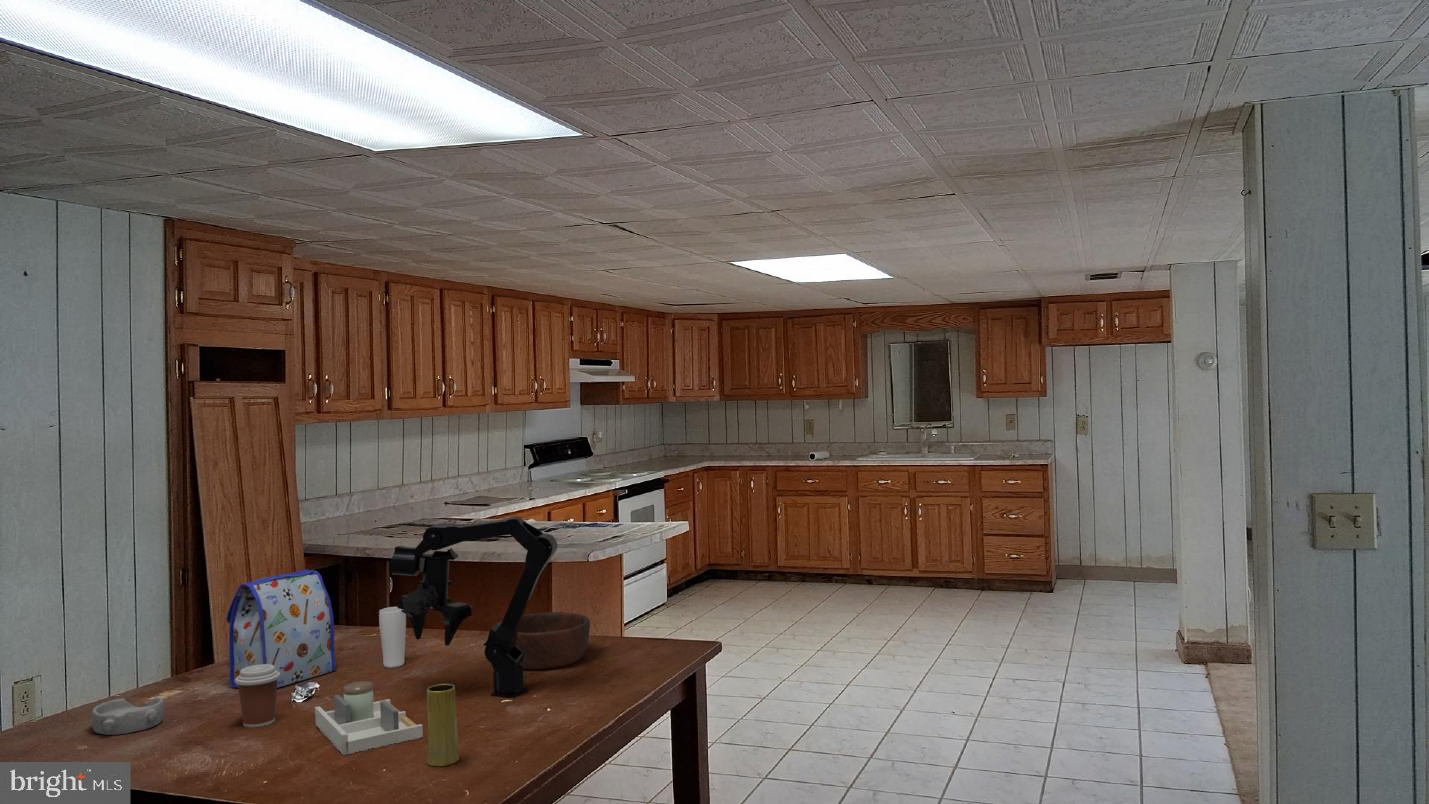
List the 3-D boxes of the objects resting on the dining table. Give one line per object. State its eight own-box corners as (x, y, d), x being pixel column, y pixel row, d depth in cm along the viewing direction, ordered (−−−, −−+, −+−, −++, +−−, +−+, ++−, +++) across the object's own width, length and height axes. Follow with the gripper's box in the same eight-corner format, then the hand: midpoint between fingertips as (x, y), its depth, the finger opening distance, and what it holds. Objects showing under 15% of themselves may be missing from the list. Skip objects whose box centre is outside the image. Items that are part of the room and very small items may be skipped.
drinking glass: (399, 669, 254) (397, 612, 254) (375, 668, 256) (373, 612, 256) (412, 662, 261) (410, 606, 261) (389, 661, 262) (387, 606, 262)
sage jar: (377, 717, 214) (376, 681, 214) (368, 726, 208) (367, 689, 208) (350, 718, 214) (349, 681, 214) (340, 727, 208) (339, 690, 208)
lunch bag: (297, 664, 263) (294, 565, 263) (341, 670, 255) (338, 569, 255) (221, 688, 242) (217, 581, 242) (266, 695, 235) (263, 585, 235)
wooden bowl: (545, 644, 277) (543, 608, 277) (610, 655, 262) (609, 617, 262) (476, 665, 257) (475, 626, 257) (543, 679, 242) (541, 637, 242)
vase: (430, 756, 191) (428, 683, 191) (462, 754, 191) (459, 682, 191) (423, 768, 185) (421, 693, 185) (456, 766, 185) (454, 691, 185)
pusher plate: (339, 719, 213) (338, 694, 213) (350, 730, 206) (350, 704, 205) (334, 720, 212) (333, 695, 212) (345, 731, 205) (345, 705, 205)
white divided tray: (389, 710, 221) (388, 683, 221) (422, 737, 202) (421, 708, 202) (315, 725, 211) (314, 697, 211) (343, 755, 193) (342, 724, 193)
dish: (97, 722, 219) (97, 700, 219) (168, 712, 224) (167, 691, 224) (85, 742, 205) (84, 719, 205) (160, 731, 211) (159, 709, 211)
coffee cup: (291, 717, 218) (289, 664, 217) (259, 731, 209) (257, 675, 209) (258, 714, 220) (257, 661, 220) (226, 727, 212) (224, 672, 212)
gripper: (381, 576, 228) (378, 642, 229) (441, 587, 220) (437, 656, 220) (416, 570, 238) (413, 633, 238) (474, 580, 230) (471, 646, 230)
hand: (432, 642), depth 231 cm, fingers open, 9 cm apart
